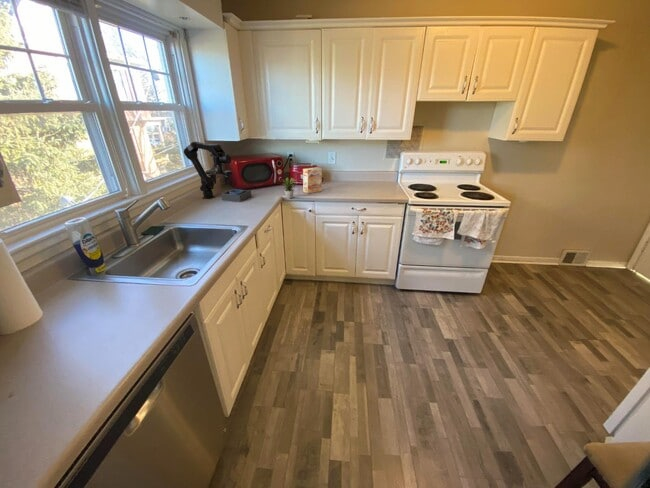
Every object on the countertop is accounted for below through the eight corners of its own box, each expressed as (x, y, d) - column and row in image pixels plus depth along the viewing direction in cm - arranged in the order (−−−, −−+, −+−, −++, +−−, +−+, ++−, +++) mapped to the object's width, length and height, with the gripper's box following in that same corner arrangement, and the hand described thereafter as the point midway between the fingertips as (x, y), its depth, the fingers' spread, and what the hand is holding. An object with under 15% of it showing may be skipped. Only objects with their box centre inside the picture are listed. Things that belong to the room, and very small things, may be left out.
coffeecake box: (307, 193, 233) (307, 170, 224) (303, 192, 238) (302, 168, 229) (322, 191, 241) (322, 168, 233) (317, 189, 246) (317, 166, 238)
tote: (222, 199, 213) (221, 193, 211) (234, 194, 227) (233, 188, 224) (240, 201, 209) (239, 195, 207) (251, 196, 222) (250, 190, 220)
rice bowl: (227, 198, 214) (226, 192, 212) (235, 195, 223) (234, 189, 221) (239, 199, 212) (238, 193, 210) (246, 196, 221) (245, 190, 219)
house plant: (294, 201, 212) (293, 179, 205) (277, 199, 215) (276, 178, 208) (300, 196, 224) (300, 176, 217) (285, 195, 228) (284, 175, 221)
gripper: (199, 163, 197) (203, 185, 204) (222, 165, 193) (225, 187, 199) (209, 161, 207) (212, 182, 213) (231, 162, 202) (234, 184, 209)
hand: (220, 184), depth 208 cm, fingers open, 9 cm apart
